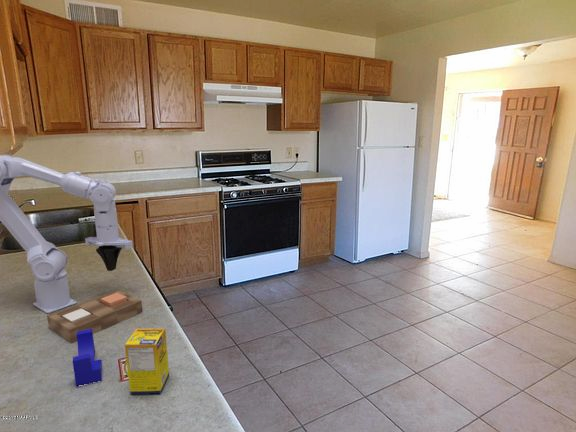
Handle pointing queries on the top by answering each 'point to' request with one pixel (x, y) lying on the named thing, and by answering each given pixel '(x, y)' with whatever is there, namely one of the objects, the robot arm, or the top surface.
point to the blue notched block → (86, 360)
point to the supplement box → (147, 361)
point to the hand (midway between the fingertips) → (111, 269)
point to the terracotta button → (113, 299)
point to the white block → (76, 315)
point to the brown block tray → (94, 316)
